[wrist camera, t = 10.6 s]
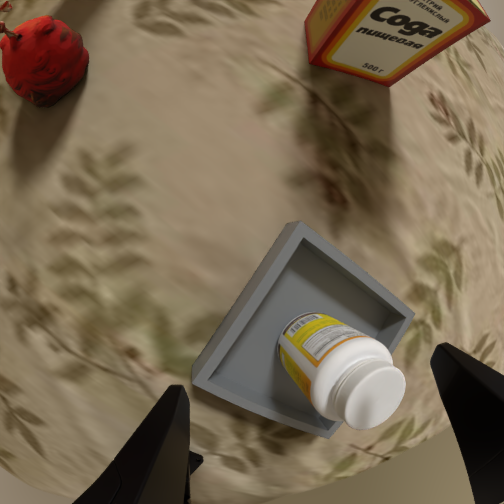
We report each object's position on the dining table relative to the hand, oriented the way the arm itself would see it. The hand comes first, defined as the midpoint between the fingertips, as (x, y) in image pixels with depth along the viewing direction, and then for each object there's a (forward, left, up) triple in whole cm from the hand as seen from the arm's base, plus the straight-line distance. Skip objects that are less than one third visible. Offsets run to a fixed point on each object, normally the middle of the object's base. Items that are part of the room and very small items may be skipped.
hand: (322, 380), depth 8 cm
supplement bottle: (0, -6, -13) cm, 15 cm away
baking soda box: (+26, +5, -14) cm, 30 cm away
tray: (0, -6, -14) cm, 15 cm away
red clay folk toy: (+6, +26, -14) cm, 30 cm away
